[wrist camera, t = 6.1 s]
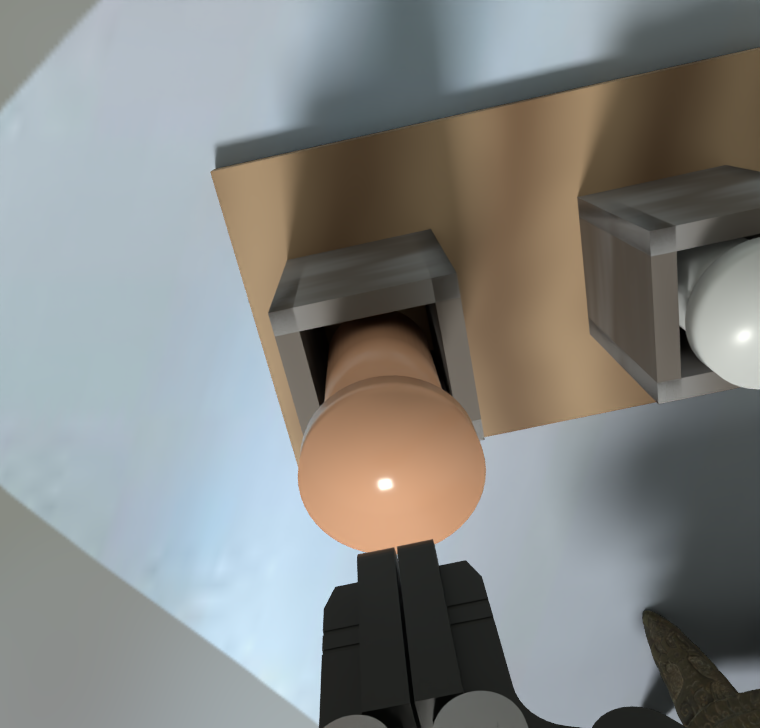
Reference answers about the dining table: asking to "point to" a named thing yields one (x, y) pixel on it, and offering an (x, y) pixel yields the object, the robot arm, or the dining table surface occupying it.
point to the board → (508, 242)
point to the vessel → (697, 681)
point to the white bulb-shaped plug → (723, 307)
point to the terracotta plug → (388, 442)
